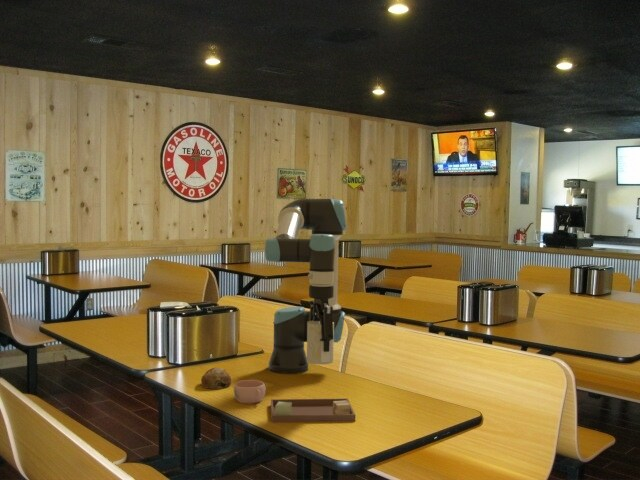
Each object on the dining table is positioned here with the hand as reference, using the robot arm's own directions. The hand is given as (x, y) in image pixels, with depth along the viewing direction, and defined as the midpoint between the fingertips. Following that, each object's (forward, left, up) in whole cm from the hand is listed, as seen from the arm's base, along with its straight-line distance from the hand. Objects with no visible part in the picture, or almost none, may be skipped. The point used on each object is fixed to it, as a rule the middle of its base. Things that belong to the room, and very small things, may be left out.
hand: (320, 358), depth 204 cm
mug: (-7, -21, -16) cm, 27 cm away
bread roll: (-28, -33, -16) cm, 46 cm away
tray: (+6, -3, -16) cm, 17 cm away
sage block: (+10, -11, -15) cm, 21 cm away
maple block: (+9, +6, -15) cm, 18 cm away
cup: (0, 0, -1) cm, 1 cm away
